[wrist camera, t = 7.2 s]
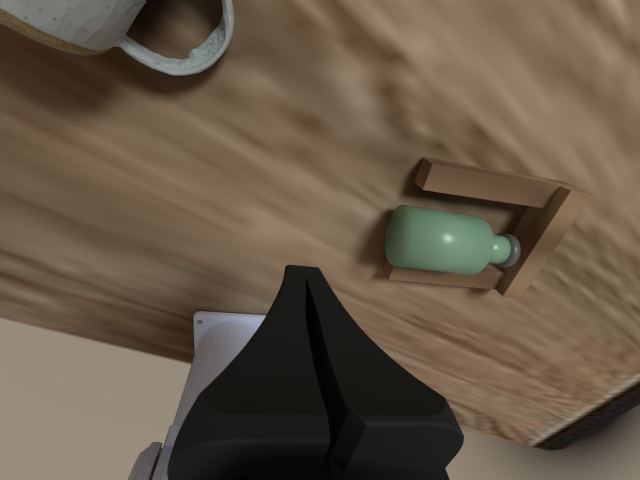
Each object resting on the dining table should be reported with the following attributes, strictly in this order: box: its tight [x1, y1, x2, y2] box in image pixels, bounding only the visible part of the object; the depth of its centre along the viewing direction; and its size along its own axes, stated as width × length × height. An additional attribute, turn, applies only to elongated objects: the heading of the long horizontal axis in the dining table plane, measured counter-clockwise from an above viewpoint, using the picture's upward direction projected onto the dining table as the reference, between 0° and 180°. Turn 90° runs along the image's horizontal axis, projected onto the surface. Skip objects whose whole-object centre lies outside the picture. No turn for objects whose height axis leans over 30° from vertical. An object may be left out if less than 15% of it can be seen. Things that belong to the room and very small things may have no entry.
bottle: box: [385, 205, 521, 275], centre depth 22 cm, size 4×4×9 cm
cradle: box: [383, 157, 592, 298], centre depth 23 cm, size 10×12×2 cm
